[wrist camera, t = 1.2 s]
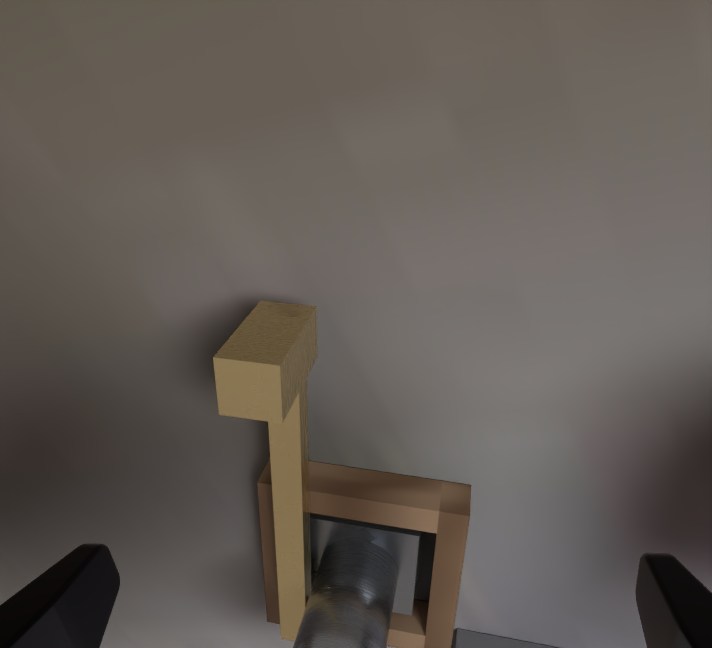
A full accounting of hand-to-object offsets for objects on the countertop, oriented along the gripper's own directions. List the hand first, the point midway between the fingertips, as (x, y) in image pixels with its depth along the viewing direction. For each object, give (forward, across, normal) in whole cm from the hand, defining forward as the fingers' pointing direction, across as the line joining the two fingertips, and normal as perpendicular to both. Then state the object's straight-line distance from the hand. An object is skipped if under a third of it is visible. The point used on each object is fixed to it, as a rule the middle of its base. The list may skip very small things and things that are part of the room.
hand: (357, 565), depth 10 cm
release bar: (+11, +5, +8) cm, 15 cm away
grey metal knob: (+13, +3, +13) cm, 19 cm away
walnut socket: (+13, +3, +13) cm, 19 cm away
